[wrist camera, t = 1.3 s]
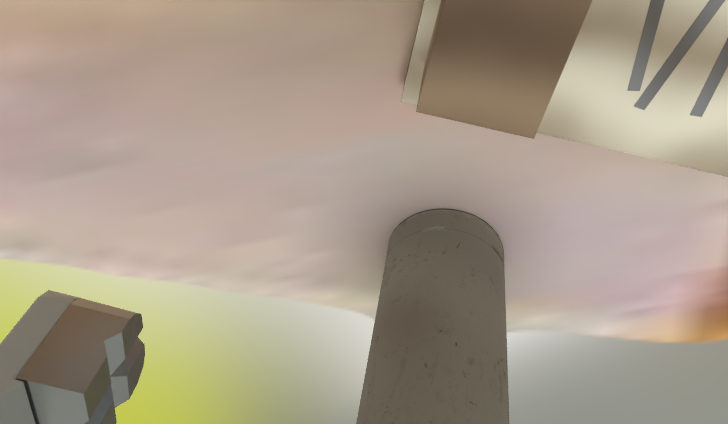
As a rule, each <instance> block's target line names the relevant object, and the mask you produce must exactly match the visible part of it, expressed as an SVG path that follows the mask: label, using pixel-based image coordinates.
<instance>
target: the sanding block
mask: <svg viewBox="0 0 728 424" xmlns="http://www.w3.org/2000/svg"><path fill="white" fill-rule="evenodd" d="M592 1H593V0H441V1H440V5H439V9H438V13H437V17H436V21H435V25H434V29H433V33H432V36H431V40H430V44H429V48H428V52H427V56H426V60H425V64H424V70H423V75H422V81H421V87H420V93H419V98H418V104H417V110H416V112H420V113H424V114H428V115H433V116H437V117H441V118H446V119H450V120H455V121H459V122H463V123H468V124H472V125H476V126H481V127H485V128H489V129H494V130H498V131H502V132H507V133H511V134H515V135H520V136H524V137H528V138H533V139H534V137H535V135H536V133H537V130H538V128H539V126H540V123H541V121H542V119H543V116H544V114H545V111H546V109H547V107H548V104H549V102H550V100H551V97H552V95H553V93H554V90H555V88H556V85H557V83H558V81H559V78H560V76H561V74H562V71H563V69H564V67H565V64H566V62H567V60H568V57H569V55H570V52H571V50H572V48H573V45H574V43H575V41H576V38H577V36H578V34H579V31H580V29H581V26H582V24H583V22H584V19H585V17H586V15H587V12H588V10H589V8H590V5H591V3H592Z"/></svg>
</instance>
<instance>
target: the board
mask: <svg viewBox="0 0 728 424" xmlns="http://www.w3.org/2000/svg"><path fill="white" fill-rule="evenodd" d="M440 1H441V0H424V4H423V8H422V13H421V17H420V21H419V25H418V29H417V34H416V38H415V42H414V46H413V50H412V55H411V59H410V63H409V67H408V71H407V76H406V80H405V84H404V88H403V93H402V98H401V102H405V103H410V104H414V105H417V104H418V98H419V93H420V87H421V81H422V75H423V70H424V64H425V60H426V56H427V52H428V48H429V44H430V40H431V36H432V33H433V29H434V25H435V21H436V17H437V13H438V9H439V5H440ZM537 133H540V134H544V135H549V136H553V137H557V138H562V139H566V140H570V141H575V142H579V143H583V144H588V145H592V146H596V147H601V148H605V149H610V150H614V151H618V152H623V153H627V154H631V155H636V156H640V157H644V158H649V159H653V160H657V161H662V162H666V163H670V164H675V165H679V166H683V167H688V168H692V169H696V170H701V171H705V172H709V173H714V174H718V175H723V176H727V177H728V0H593V1H592V3H591V5H590V8H589V10H588V12H587V15H586V17H585V19H584V22H583V24H582V26H581V29H580V31H579V34H578V36H577V38H576V41H575V43H574V45H573V48H572V50H571V52H570V55H569V57H568V60H567V62H566V64H565V67H564V69H563V71H562V74H561V76H560V78H559V81H558V83H557V85H556V88H555V90H554V93H553V95H552V97H551V100H550V102H549V104H548V107H547V109H546V111H545V114H544V116H543V119H542V121H541V123H540V126H539V128H538V130H537Z"/></svg>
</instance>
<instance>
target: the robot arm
mask: <svg viewBox="0 0 728 424" xmlns="http://www.w3.org/2000/svg"><path fill="white" fill-rule="evenodd" d="M142 328H143V324H142V316H141V314H139V313H135V312H131V311H127V310H124V309H120V308H116V307H112V306H109V305H105V304H101V303H97V302H93V301H89V300H86V299H82V298H79V297H74V296H71V295H67V294H62V293H58V292H54V291H50V290H49V291H47V292H45V293H44V294H42V295H41V296H40V297H38V298H37V299H36V300H35V302H34V303H33V304H32V305H31V307H30V308H29V309H28V310H27V312H26V313H25V314H24V315H23V317H22V318H21V319H20V321H19V322H18V323H17V324H16V325H15V326H14V328H13V329H12V330H11V331H10V333H9V334H8V335H7V336H6V338H5V339H4V340H3V341H2V343H1V344H0V424H116V415H115V407H117V406H119V405H120V404H122V403H124V402H125V401H127V400H128V399H130V397H131V395H132V393H133V391H134V389H135V387H136V385H137V383H138V380H139V377H140V374H141V371H142V368H143V364H144V357H145V348H144V344H143V342H142V341H141V340H140V339H139V338H138V335H139V333H140V332H141V330H142Z"/></svg>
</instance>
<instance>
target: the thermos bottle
mask: <svg viewBox="0 0 728 424" xmlns="http://www.w3.org/2000/svg"><path fill="white" fill-rule="evenodd" d="M507 371H508V370H507V339H506V308H505V278H504V252H503V247H502V243H501V241H500V239H499V237H498V235H497V234H496V233H495V231H494V230H493V229H492V228H491V227H490V226H489V225H488V224H486V223H485V222H484V221H482V220H481V219H479V218H477V217H475V216H473V215H470V214H468V213H465V212H461V211H456V210H446V209H437V210H429V211H425V212H422V213H418V214H416V215H414V216H412V217H410V218H408V219H406V220H405V221H404V222H402V223H401V224H400V225H399V226H398V227H397V228H396V230H395V231H394V232H393V234H392V236H391V238H390V242H389V247H388V252H387V258H386V263H385V269H384V274H383V280H382V285H381V291H380V296H379V302H378V307H377V313H376V318H375V324H374V330H373V335H372V340H371V346H370V351H369V357H368V362H367V368H366V374H365V379H364V384H363V390H362V395H361V401H360V406H359V412H358V418H357V423H356V424H509V401H508V400H509V399H508V372H507Z"/></svg>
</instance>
